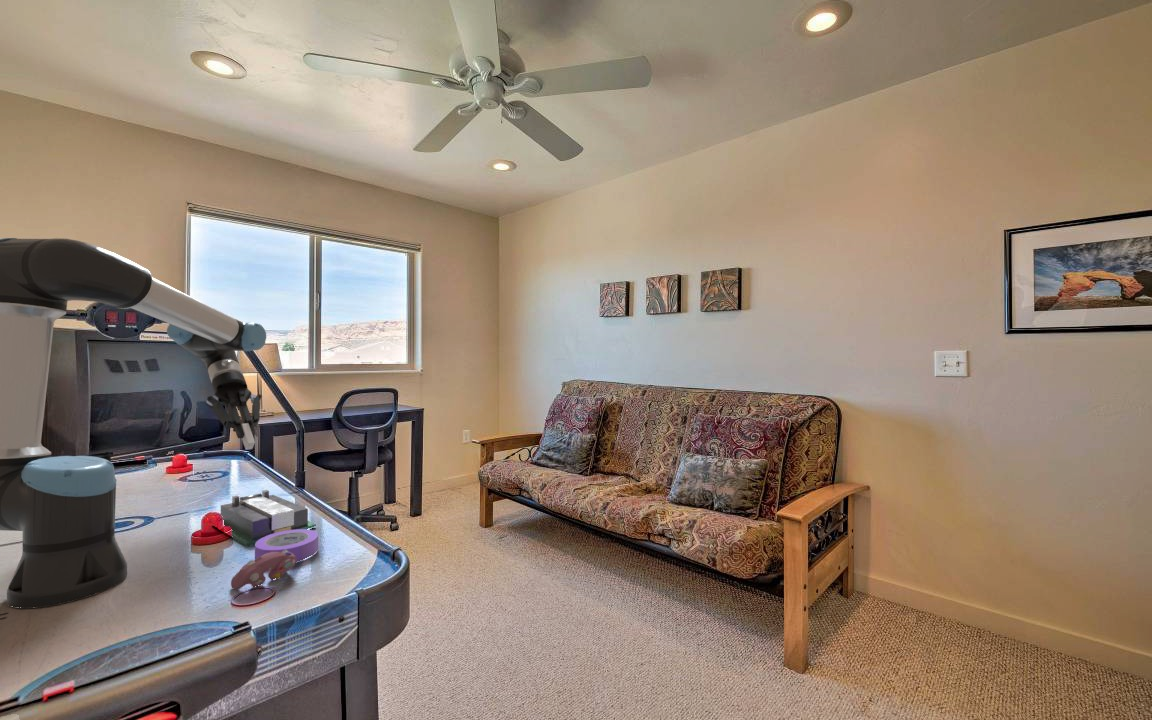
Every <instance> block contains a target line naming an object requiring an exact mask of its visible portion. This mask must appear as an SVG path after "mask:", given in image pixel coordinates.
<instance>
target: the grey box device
mask: <svg viewBox="0 0 1152 720" xmlns="http://www.w3.org/2000/svg"><path fill="white" fill-rule="evenodd" d="M261 494H262V496H263V497H265V498H268V499H270V500H272V501H275V502H277V503H279V504H281V505H284V506H286V507H288V508H291V509H293V510H294V525H292V526H288V527H284V528H280V529H276V530H271V518H270V517H268V516H266V515H264V514H262V513H260V512H258V511H256V510H253V509H251V508H249V507H247V506H245V505H243V504H241V503H240V496H239V495H232V499H231V501H232V502H231V503H226V504H221V505H220V516H221V515H222V516H223V520H224V525H225V526H230V527H232V530H233V531H232V536H233V538H234V539H233V538H232V539H233V540H235V539H236V540H237V541H236V540H235V541H236V542H238V541H239V542H238V543H239V544H241V543H242V544H241V545H243V546H245V547H246V546H248V547H251V546H250V545H252V546H255V545H254V544H255V543H256V542H257V541H258V540H259V539H261V538H263V537H265V536H268V535H270V534H273V533H277V532H282V531H287V530H296V529H308V528H311V527H314V526H316V527H317V524H316V523H313V522H311V521H310V520H309V515H308V514H309V509H308V508H307V507H304V506H302V505H299V504H296V503H294V502H292V501H289V500H287V499H284V498H282V497H280V496H277V495H274V494H270V491H269V489H264V490H262V491H261Z"/></svg>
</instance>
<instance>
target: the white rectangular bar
mask: <svg viewBox="0 0 1152 720" xmlns="http://www.w3.org/2000/svg"><path fill="white" fill-rule="evenodd" d="M239 502H240V503H241V504H243V505H245V506H247V507H249V508H251V509H253V510H256V511H258V512H260V513H262V514H264V515H266V516H268V517H270V518H271V530H276V529H280V528H284V527H288V526H292V525H294V510H293V509H291V508H288V507H286V506H284V505H281V504H279V503H277V502H275V501H272V500H270V499H268V498H265V497H263V496H262V493H257V494H251V495H246V496H242V497H241V496H239Z"/></svg>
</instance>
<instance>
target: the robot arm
mask: <svg viewBox="0 0 1152 720" xmlns="http://www.w3.org/2000/svg"><path fill="white" fill-rule="evenodd" d="M69 301H70V302H71V301H81V302H82V301H85V302H95V303H101V304H105V305H109V306H111V307H114V308H116V309H121V310H123V309H124V310H128V309H133V310H135V311H138V312H139V313H142V314H145V315H147V316H149V317H152V318H155V319H158V320H159V321H162V322H165V323H167V324H168V326H167V328H166V333H167V336H168V337H169V338H170V339H171V340H173V342H175V344H177V345H179V346H180V347H182V348H183V349H185V350H186V351H188V352H189V353H191V354H192V355H194V356H195V357H196V358H198V359H200V360H201V361H202V362H204V364H205V367H206V370H207V373H208V376H209V380H210V382H211V386H212V388H213V389H212V390H213V393H214V395H213V396H212V395H209V396H207V398H206V401H205V405H206V406H207V407H208V408H209V409H211V410H212V411H213V414H215V416H216V417H217V418H218V420H219V421H220V423H221V424H222V426H223V427H224V428H225V429H228V430H229V429H232V431H233V432H235V434H236V435H235V436H236V438H237V439H241V441H242V444H243V446H244V449H245V451H247V450H253V448H254V445H255V444H256V441H255V435H256V430H255V427H257V426H258V424H259V422H260V414H261V413H260V408H261V407H260V403H261V402H260V401H261V399H262V397H263V395H262V394H261V393H257V395H256V394H253V393H252V391H251V390H250V389H249V387H248V385H247V381H246V379H245V376H244V374H243V371H242V368H241V365H240V363H239V359H238V356H237V354H236V353H237V352H251V351H252V352H253V351H259V350H261V349H263V347H264V346H265V344H266V342H267V332H266V329H265V328H264V327H263V325H262V324H260V323H258V322H251V321H247V322H245V321H240V320H238V319H237V318H234V317H233V316H231V315H228V314H226V313H224V312H223V311H221V310H218V309H217V308H215V307H212V305H211V306H210V305H209V304H208V303H207V304H206V303H204V302H202V301H200V300H199V299H196V298H194V297H193V296H190V295H189V294H187V293H184V292H182V291H180V290H178V289H176V288H174V287H172V286H170V285H169V284H166V283H165V282H162V281H160V280H158V279H156V278H154V277H153V275H152V273H151V272H150V271H149V269H147V268H145V267H143V266H141V265H139V264H138V263H136V262H134V261H132V260H130V259H128V258H125V257H123V256H121V255H119V254H117V253H115V252H112V251H110V250H107V249H104V248H102V247H100V246H97V245H94V244H90V243H87V242H85V241H81V240H76V239H70V238H57V237H56V238H17V237H12V238H11V237H10V238H9V237H3V238H0V531H8V532H9V531H15V532H22V547H21V548H22V553H21V558H20V560H19V562H18V564H17V566H16V568H15V571H14V573H13V575H12V578H11V580H10V582H9V584H8V587H7V589H6V605H7V606H8V605H9V606H8V607H10V606H13V607H12V608H14V607H19V608H18V609H34V608H33V607H38V608H45V607H51V606H57V605H62V604H65V603H70V602H74V601H75V602H76V601H78V600H81V599H85V598H88V597H92V596H94V595H97V594H100V593H102V592H105V591H107V590H109V589H111V588H114V587H115V586H117V585H119V584H120V583H122V582H124V581H125V579H126V578H127V576H128V563H127V561H126V559H125V557H124V555H123V552H122V550H121V548H120V546H119V544H118V541H117V539H116V535H115V534H116V533H115V532H116V531H115V530H116V529H115V528H116V527H115V526H116V524H115V523H116V498H117V497H116V496H117V492H116V491H117V478H116V473H115V466H114V463H112V461H111V462H110V461H108V460H106V459H103V458H99V457H92V456H86V455H76V456H75V455H74V456H73V455H59V456H52V451H50V450H49V449H48V448H46V447H44V446H43V444H42V435H43V434H42V433H43V427H44V425H43V424H44V417H45V410H46V400H47V399H46V398H47V390H48V388H47V387H48V379H49V373H50V372H49V370H50V362H51V354H52V352H51V351H52V344H53V334H54V323H55V322H56V321H57V320H58V319H60V318H62V317H63V316H65V315H67V309H68V302H69ZM249 400H250V402H251V404H252V405H251V413H250V410H249V407H248V401H249ZM223 406H225V407H223ZM241 419H242V420H241ZM20 607H21V608H20Z"/></svg>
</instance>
